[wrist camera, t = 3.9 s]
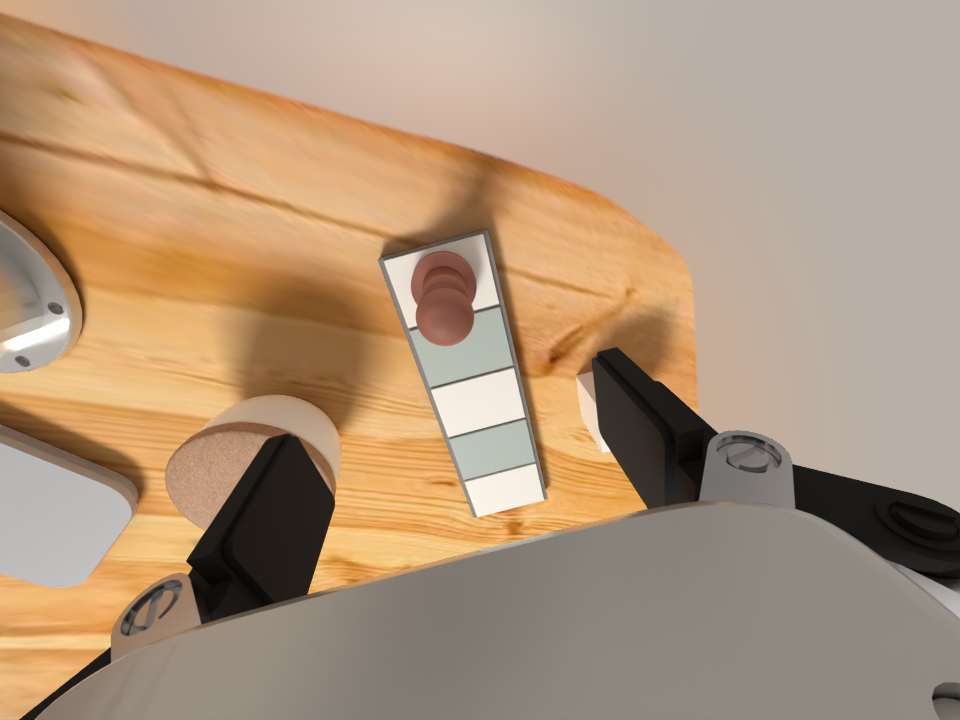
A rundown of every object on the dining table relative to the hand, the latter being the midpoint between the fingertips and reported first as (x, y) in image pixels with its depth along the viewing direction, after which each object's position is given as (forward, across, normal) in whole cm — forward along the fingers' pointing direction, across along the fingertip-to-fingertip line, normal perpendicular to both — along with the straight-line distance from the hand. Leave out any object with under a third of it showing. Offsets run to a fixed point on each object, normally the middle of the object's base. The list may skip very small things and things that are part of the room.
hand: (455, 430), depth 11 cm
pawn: (+17, 0, 0) cm, 17 cm away
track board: (+18, 0, +11) cm, 21 cm away
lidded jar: (+18, +16, +9) cm, 26 cm away
